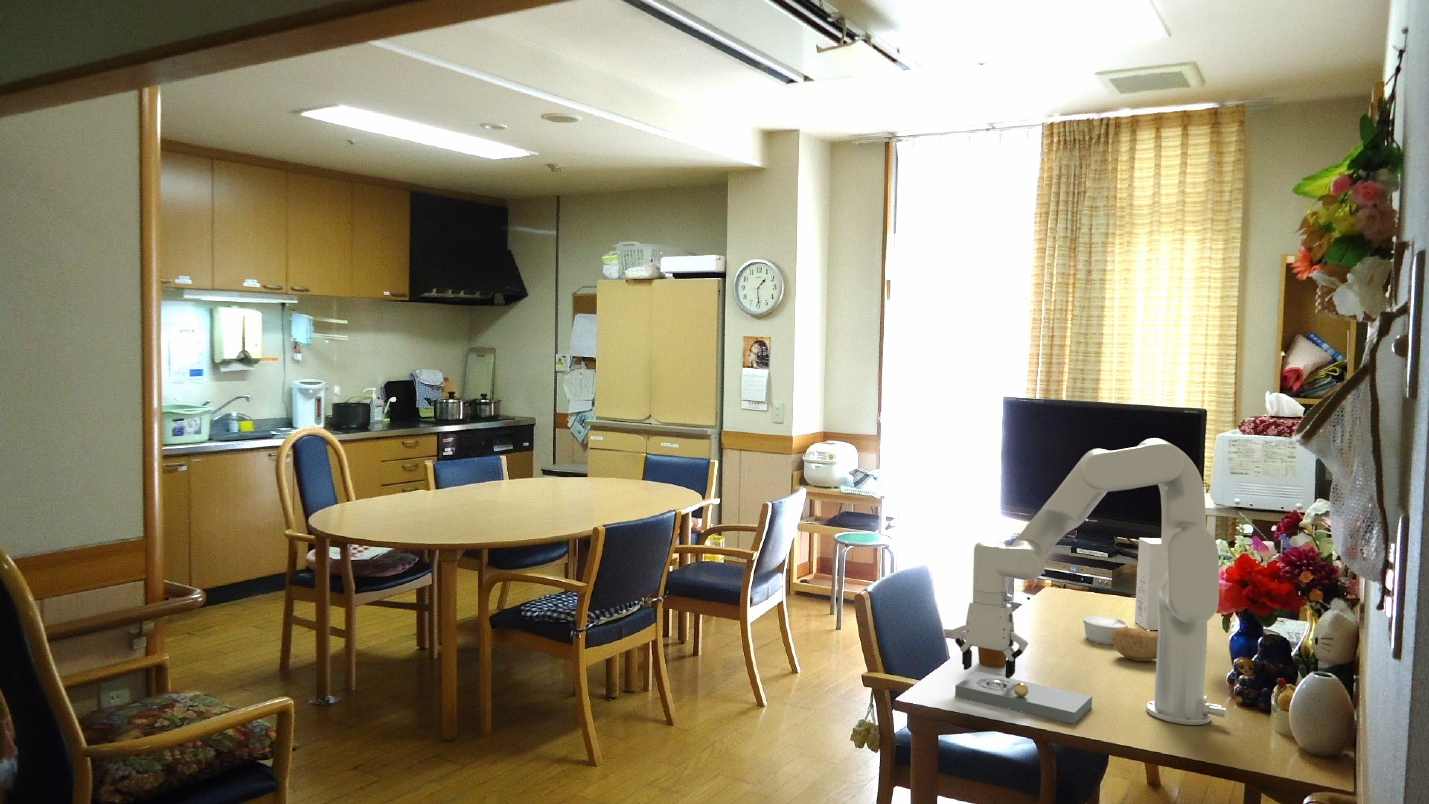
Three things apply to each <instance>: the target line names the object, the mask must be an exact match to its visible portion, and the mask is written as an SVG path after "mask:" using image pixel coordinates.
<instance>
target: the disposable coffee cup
mask: <svg viewBox="0 0 1429 804" xmlns="http://www.w3.org/2000/svg"><path fill="white" fill-rule="evenodd" d="M977 653H978V654H977V655H978V663H979V665H981V666H983V667H986V668H990V669H991V668H992V669H1002V668H1006V660H1008V658H1007V657H1006V655H1005V654H1004V652H1003V651H998V650H992V649H987V648H982V647H977Z"/></svg>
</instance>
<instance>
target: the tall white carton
mask: <svg viewBox="0 0 1429 804" xmlns="http://www.w3.org/2000/svg"><path fill="white" fill-rule="evenodd" d="M1137 552H1138V553H1137V557H1138V558H1137V569H1136V589H1135V610H1134V612H1135V613H1134V623H1135V624H1136V623H1137V624H1136V625H1138V626H1139V627H1141V628H1142V627H1143V628H1142V629H1143V630H1145V629H1146V630H1158V618H1159V616H1158V588H1159V584H1160V581H1161V579H1162V577H1163V576H1164V575H1165V574H1166V573H1167V572H1168V556H1167V555H1166V554H1165V553H1164V551H1163V549H1162V545H1161V538H1155V537H1154V538H1153V537H1152V538H1151V537H1150V538H1149V537H1139V538H1138V551H1137Z"/></svg>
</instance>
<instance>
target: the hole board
mask: <svg viewBox="0 0 1429 804" xmlns="http://www.w3.org/2000/svg"><path fill="white" fill-rule="evenodd" d="M993 680H998V681H1000V682H1001V683H1002V684H1003V686H1004V688H994V687H990V686H988V684H989V683H990V682H991V681H993ZM1018 683H1023V684H1025V685H1026V686H1027V687H1028V694H1027V695H1026V696H1025V697H1018V696H1017V695H1016V694H1015V693H1014V687H1015V685H1016V684H1018ZM954 688H955V690H954V696H955V697H956V698H960V697H961V698H960V699H964V700H965V699H966V700H969V699H972V700H971V701H973V700H975V701H974V702H977V701H979V702H978V703H981V702H984V703H983V704H986V703H987V704H986V705H990V704H991V705H990V706H994V705H997V706H996V707H998V706H1000V708H1003V707H1004V708H1003V709H1007V708H1010V709H1009V710H1011V709H1013V711H1015V710H1016V711H1017V712H1020V711H1022V712H1021V713H1024V712H1025V714H1028V715H1032V714H1034V715H1033V716H1037V715H1038V716H1037V717H1041V716H1042V717H1041V718H1046V719H1050V720H1054V719H1055V720H1054V721H1059V722H1062V723H1067V724H1071V725H1076V723H1077V722H1078V721H1079V720H1081V719H1082V718H1083V717H1084V716H1085V714H1087V712H1089V711H1090V710H1091V709H1092V706H1093V705H1092V704H1093V695H1089V694H1085V693H1079V692H1074V691H1070V690H1066V689H1060V688H1056V687H1052V686H1047V685H1043V684H1038V683H1034V682H1028V681H1025V680H1024V681H1023V680H1020V679H1015V678H1012V677H1010V678H1009V679H1008V678H1006V677H1005V676H1001V675H996V674H993V673H987V672H982V671H975V672H974V673H972V674H970V675H969V676H968V677H966V678H964V679H963V680H961V681H960V682H958V683H957V684H955V687H954Z"/></svg>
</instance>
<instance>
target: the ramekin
mask: <svg viewBox="0 0 1429 804" xmlns="http://www.w3.org/2000/svg"><path fill="white" fill-rule="evenodd" d="M1082 622H1083V624H1084V625H1083V626H1084V632H1085V633H1084V634H1085V637H1086V638H1087V640H1089V641H1090V642H1092V641H1094V642H1093V643H1095V642H1096V644H1101V645H1107V644H1113V643H1112V641H1111V635H1112V633H1113V631H1114V630H1115V629H1117V628H1119V627H1127V628H1129V625H1128V623H1127V622H1126V621H1124V620H1122V619H1119V618H1115V617H1110V616H1102V615H1093V616H1092V615H1090V616H1085V617H1084V618H1083V621H1082Z"/></svg>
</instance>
